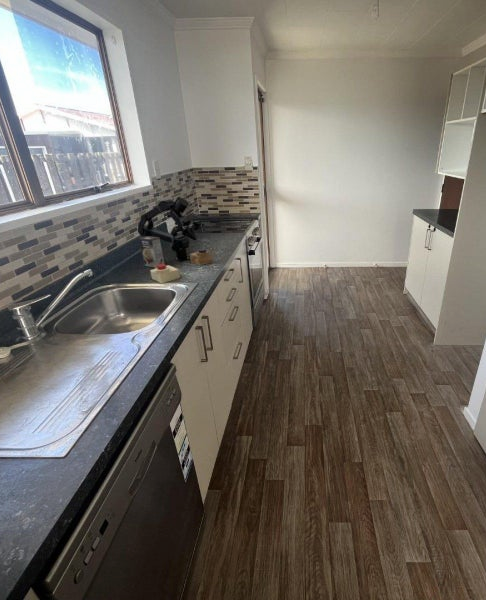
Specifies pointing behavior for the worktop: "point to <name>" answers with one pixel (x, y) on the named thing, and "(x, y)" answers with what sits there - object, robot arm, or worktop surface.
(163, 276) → the cream block
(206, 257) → the oak block
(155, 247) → the coffee box
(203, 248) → the knob
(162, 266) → the knob
